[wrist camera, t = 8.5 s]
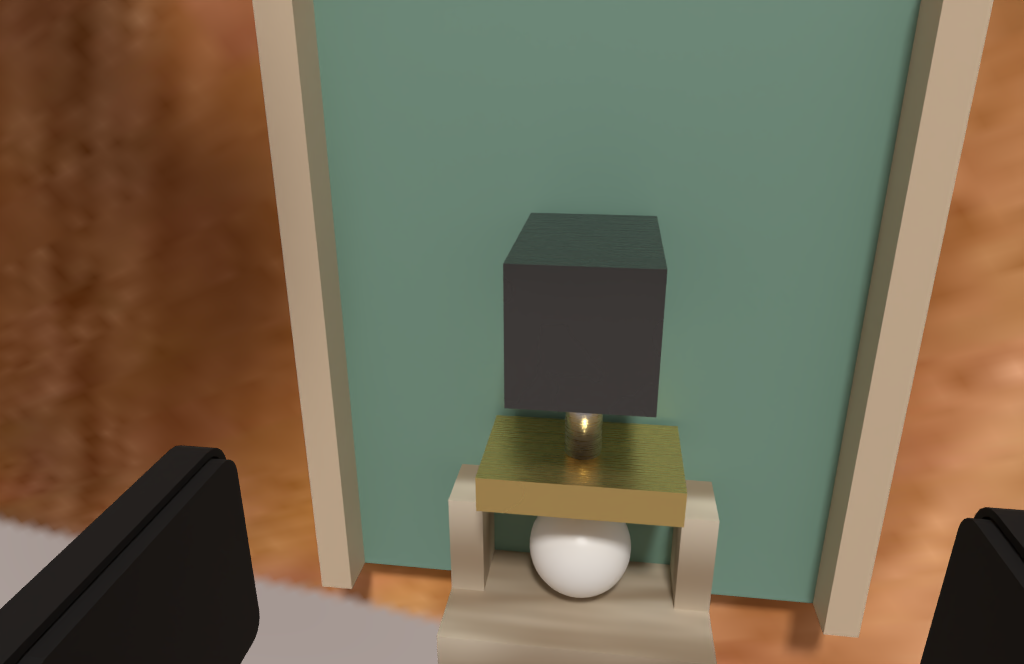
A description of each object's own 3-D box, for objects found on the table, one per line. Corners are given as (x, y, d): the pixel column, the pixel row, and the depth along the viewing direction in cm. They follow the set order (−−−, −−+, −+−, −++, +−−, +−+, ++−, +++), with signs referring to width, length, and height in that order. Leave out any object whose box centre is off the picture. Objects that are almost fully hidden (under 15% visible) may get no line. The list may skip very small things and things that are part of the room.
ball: (521, 609, 25) (533, 572, 29) (629, 619, 24) (627, 580, 28) (526, 503, 25) (537, 479, 28) (634, 511, 24) (632, 486, 28)
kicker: (494, 211, 24) (455, 261, 18) (695, 216, 23) (718, 271, 18) (496, 444, 27) (464, 546, 22) (674, 456, 26) (688, 565, 21)
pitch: (288, -30, 24) (247, -39, 21) (957, -41, 21) (1004, -53, 18) (346, 541, 32) (322, 586, 29) (837, 584, 29) (858, 637, 26)
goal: (462, 463, 28) (431, 542, 24) (711, 481, 27) (729, 568, 22) (465, 571, 30) (437, 663, 25) (699, 592, 29) (713, 693, 24)
